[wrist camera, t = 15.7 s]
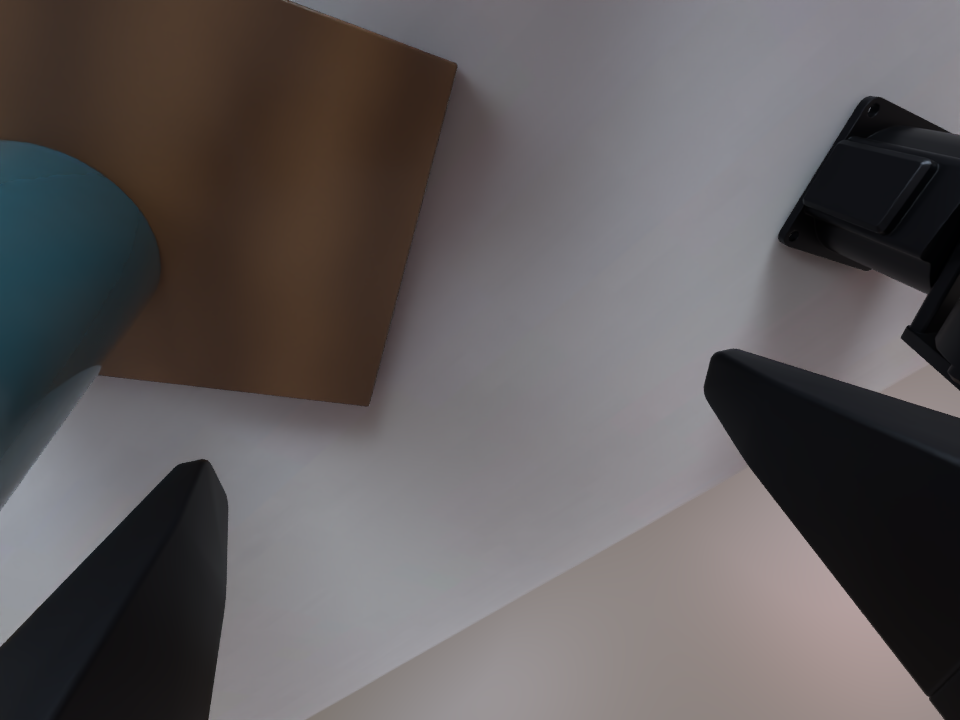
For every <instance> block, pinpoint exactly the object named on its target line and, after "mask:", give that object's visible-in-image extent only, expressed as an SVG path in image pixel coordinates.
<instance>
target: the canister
mask: <svg viewBox="0 0 960 720" xmlns="http://www.w3.org/2000/svg"><path fill="white" fill-rule="evenodd" d="M160 273H161V259H160V253H159V248H158V245H157V242H156V239H155V236H154V234H153V232H152V230H151V227H150V225H149V223H148V222H147V220H146V219H145V217H144V216H143V214H142V212H141V211H140V210H139V209H138V207H137V206H136V205H135V204H134V202H133V201H132V200H131V199H130V198H129V197H128V196H127V195H126V194H125V193H124V192H123V191H122V190H121V189H120V188H119V187H118V186H117V185H115V184H114V183H113V182H112V181H111V180H109V179H108V178H107V177H105V176H104V175H103V174H101V173H100V172H98V171H97V170H95V169H94V168H92V167H90V166H88V165H87V164H85V163H83V162H81V161H79V160H78V159H75V158H73V157H71V156H69V155H66V154H64V153H62V152H59V151H56V150H53V149H50V148H47V147H44V146H40V145H35V144H31V143H26V142H18V141H9V140H0V511H1V509H2V508H3V507H4V505H5V504H6V502H7V501H8V500H9V498H10V497H11V495H12V494H13V493H14V491H15V490H16V488H17V487H18V486H19V484H20V483H21V481H22V480H23V479H24V477H25V476H26V474H27V473H28V472H29V470H30V469H31V467H32V466H33V465H34V463H35V462H36V460H37V459H38V458H39V456H40V455H41V453H42V452H43V451H44V449H45V448H46V446H47V445H48V444H49V442H50V441H51V439H52V438H53V437H54V435H55V434H56V432H57V431H58V430H59V428H60V427H61V425H62V424H63V423H64V421H65V420H66V418H67V417H68V416H69V414H70V413H71V411H72V410H73V409H74V407H75V406H76V404H77V403H78V402H79V400H80V399H81V397H82V396H83V395H84V393H85V392H86V390H87V389H88V388H89V386H90V385H91V383H92V382H93V381H94V379H95V378H96V376H97V375H98V374H99V372H100V371H101V370H102V368H103V367H104V365H105V364H106V363H107V361H108V360H109V358H110V357H111V356H112V354H113V353H114V351H115V350H116V349H117V347H118V346H119V344H120V343H121V342H122V340H123V339H124V337H125V336H126V335H127V333H128V332H129V330H130V329H131V328H132V326H133V325H134V323H135V322H136V321H137V319H138V318H139V316H140V315H141V314H142V312H143V311H144V309H145V308H146V307H147V305H148V304H149V302H150V301H151V299H152V298H153V296H154V294H155V292H156V290H157V287H158V284H159V280H160Z"/></svg>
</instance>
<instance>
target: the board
mask: <svg viewBox="0 0 960 720" xmlns="http://www.w3.org/2000/svg"><path fill="white" fill-rule="evenodd" d="M456 71H457V64H456V63H454V62H451V61H449V60H446V59H443V58H441V57H438V56H435V55H433V54H430V53H427V52H425V51H422V50H419V49H417V48H414V47H411V46H409V45H406V44H404V43H401V42H398V41H396V40H393V39H390V38H388V37H385V36H382V35H380V34H377V33H374V32H372V31H369V30H366V29H364V28H361V27H358V26H356V25H353V24H350V23H348V22H345V21H342V20H340V19H337V18H334V17H332V16H329V15H326V14H324V13H321V12H318V11H316V10H313V9H310V8H308V7H305V6H302V5H300V4H297V3H294V2H292V1H289V0H0V140H9V141H18V142H26V143H31V144H35V145H40V146H44V147H47V148H50V149H53V150H56V151H59V152H62V153H64V154H66V155H69V156H71V157H73V158H75V159H78V160H79V161H81V162H83V163H85V164H87V165H88V166H90V167H92V168H94V169H95V170H97V171H98V172H100V173H101V174H103V175H104V176H105V177H107V178H108V179H109V180H111V181H112V182H113V183H114V184H115V185H117V186H118V187H119V188H120V189H121V190H122V191H123V192H124V193H125V194H126V195H127V196H128V197H129V198H130V199H131V200H132V201H133V202H134V204H135V205H136V206H137V207H138V209H139V210H140V211H141V212H142V214H143V216H144V217H145V219H146V220H147V222H148V223H149V225H150V227H151V230H152V232H153V234H154V236H155V239H156V242H157V245H158V248H159V253H160V259H161V273H160V280H159V284H158V287H157V290H156V292H155V294H154V296H153V298H152V299H151V301H150V302H149V304H148V305H147V307H146V308H145V309H144V311H143V312H142V314H141V315H140V316H139V318H138V319H137V321H136V322H135V323H134V325H133V326H132V328H131V329H130V330H129V332H128V333H127V335H126V336H125V337H124V339H123V340H122V342H121V343H120V344H119V346H118V347H117V349H116V350H115V351H114V353H113V354H112V356H111V357H110V358H109V360H108V361H107V363H106V364H105V365H104V367H103V368H102V370H101V371H100V372H99V374H98V375H102V376H111V377H119V378H128V379H136V380H145V381H154V382H162V383H171V384H179V385H188V386H196V387H205V388H214V389H222V390H231V391H239V392H248V393H256V394H265V395H273V396H282V397H291V398H299V399H308V400H316V401H325V402H333V403H342V404H350V405H359V406H369V404H370V401H371V397H372V393H373V389H374V385H375V381H376V378H377V374H378V370H379V366H380V362H381V358H382V355H383V351H384V347H385V343H386V339H387V335H388V332H389V328H390V324H391V320H392V316H393V312H394V309H395V305H396V301H397V297H398V293H399V289H400V286H401V282H402V278H403V274H404V270H405V266H406V263H407V259H408V255H409V251H410V247H411V243H412V240H413V236H414V232H415V228H416V224H417V220H418V217H419V213H420V209H421V205H422V201H423V197H424V194H425V190H426V186H427V182H428V178H429V174H430V170H431V167H432V163H433V159H434V155H435V151H436V147H437V144H438V140H439V136H440V132H441V128H442V124H443V121H444V117H445V113H446V109H447V105H448V101H449V98H450V94H451V90H452V86H453V82H454V78H455V75H456Z"/></svg>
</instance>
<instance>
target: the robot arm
mask: <svg viewBox="0 0 960 720" xmlns="http://www.w3.org/2000/svg"><path fill="white" fill-rule="evenodd" d="M870 107H871V109H870V111H869V108H870ZM868 111H869V112H868ZM792 232H793V233H792ZM791 233H792V235H791V236H790V234H791ZM789 236H790V237H789ZM778 239H779V241H780V242H781V243H783V244H785V245H787V246H789V247H793V248H796V249H799V250H802V251H805V252H808V253H811V254H814V255H818V256H821V257H824V258H827V259H830V260H833V261H836V262H839V263H843V264H846V265H849V266H852V267H855V268H858V269H861V270H865V271H869V270H871V269H873V270H875V271H878V272H880V273H882V274H884V275H886V276H889V277H891V278H893V279H895V280H897V281H899V282H902V283H904V284H906V285H908V286H910V287H913V288H915V289H917V290H919V291H921V292H924V293H926V294H928V295H927V297H926V299H925V300H924V302H923V304H922V306H921V308H920V309H919V311H918V313H917V315H916V316H915V318H914V320H913V322H912V323H911V325H908V326H907V327H906V329H905V331H904V332H903V334H902V336H901V339H902V340H903V341H904V342H906V343H907V344H908V345H909V346H910V347H911V348H912V349H914V350H915V351H916V352H917V353H918V354H919V355H920V356H921V357H922V358H924V359H925V360H926V361H927V362H928V363H929V364H930V365H932V366H933V367H934V368H935V369H936V370H937V371H939V373H941V374H942V375H943V376H944V377H945V378H946V379H947V380H948V381H950V382H951V383H952V384H953V385H954V386H955V387H956V388H957V389H959V390H960V135H957V134H952V133H950V132H948V131H946V130H944V129H942V128H940V127H938V126H936V125H934V124H932V123H930V122H929V121H927V120H925V119H923V118H921V117H919V116H917V115H915V114H913V113H911V112H909V111H907V110H905V109H903V108H901V107H899V106H897V105H895V104H893V103H891V102H889V101H887V100H885V99H883V98H881V97H873V96H868V97H866V98H864V99H863V100H862V101H861V102H860V103H859V104H858V105H857V107H856V109H855V110H854V112H853V114H852V115H851V117H850V118H849V120H848V122H847V123H846V125H845V126H844V128H843V130H842V131H841V133H840V135H839V136H838V138H837V139H836V141H835V143H834V144H833V146H832V148H831V149H830V151H829V152H828V154H827V156H826V157H825V159H824V161H823V162H822V164H821V165H820V167H819V169H818V170H817V172H816V174H815V175H814V177H813V178H812V180H811V182H810V183H809V185H808V186H807V188H806V190H805V191H804V193H803V195H802V196H801V198H800V199H799V201H798V203H797V204H796V206H795V208H794V209H793V211H792V212H791V214H790V216H789V217H788V219H787V221H786V222H785V224H784V225H783V227H782V229H781V230H780V232H779V235H778ZM704 395H705V397H706V400H707V401H708V403H709V404H710V406H711V408H712V409H713V411H714V412H715V414H716V416H717V417H718V419H719V420H720V422H721V424H722V425H723V427H724V428H725V430H726V432H727V433H728V435H729V436H730V438H731V440H732V441H733V443H734V444H735V446H736V448H737V449H738V451H739V452H740V454H741V455H742V457H743V458H744V460H745V461H746V463H747V464H748V466H749V467H750V468H751V470H752V471H753V472H754V474H755V475H756V476H757V478H758V479H759V480H760V481H761V483H762V484H763V485H764V487H765V488H766V489H767V491H768V492H769V493H770V494H771V496H772V497H773V498H774V500H775V501H776V502H777V503H778V505H779V506H780V507H781V509H782V510H783V511H784V512H785V514H786V515H787V516H788V517H789V519H790V520H791V521H792V523H793V524H794V525H795V527H796V528H797V529H798V530H799V532H800V533H801V534H802V536H803V537H804V538H805V540H806V541H807V542H808V543H809V545H810V546H811V547H812V549H813V550H814V551H815V552H816V554H817V555H818V556H819V558H820V559H821V560H822V561H823V563H824V564H825V565H826V566H827V568H828V569H829V570H830V572H831V573H832V574H833V576H834V577H835V578H836V580H837V581H838V582H839V583H840V585H841V586H842V587H843V588H844V590H845V591H846V592H847V594H848V595H849V596H850V598H851V599H852V600H853V601H854V603H855V604H856V605H857V606H858V608H859V609H860V610H861V612H862V613H863V614H864V615H865V617H866V618H867V620H868V621H869V622H870V623H871V625H872V626H873V627H874V628H875V630H876V631H877V632H878V634H879V635H880V636H881V638H882V639H883V640H884V641H885V643H886V644H887V645H888V646H889V648H890V649H891V650H892V652H893V653H894V654H895V656H896V657H897V658H898V659H899V661H900V662H901V663H902V665H903V666H904V667H905V669H906V670H907V671H908V672H909V674H910V675H911V676H912V678H913V679H914V680H915V681H916V683H917V684H918V685H919V686H920V688H921V689H922V690H923V692H924V693H925V694H926V695H927V696H928V697H929V700H930V701H931V703H932V704H933V705H934V707H935V708H936V709H937V710H938V712H939V713H940V714H941V716H942V717H943V718H944V719H945V720H960V418H958V417H954V416H951V415H948V414H945V413H942V412H938V411H935V410H932V409H929V408H926V407H922V406H919V405H916V404H913V403H909V402H906V401H903V400H900V399H897V398H893V397H890V396H887V395H884V394H881V393H877V392H874V391H871V390H868V389H865V388H861V387H858V386H855V385H852V384H849V383H845V382H842V381H839V380H836V379H833V378H829V377H826V376H823V375H820V374H817V373H813V372H810V371H807V370H804V369H801V368H797V367H794V366H791V365H788V364H784V363H781V362H778V361H775V360H772V359H768V358H765V357H762V356H759V355H756V354H752V353H749V352H746V351H743V350H740V349H728V350H723V351H719V352H716V353H714V355H713V356H712V357H711V360H710V364H709V368H708V372H707V375H706V379H705V383H704ZM227 543H228V501H227V496H226V493H225V491H224V489H223V487H222V485H221V483H220V481H219V479H218V477H217V475H216V473H215V471H214V469H213V467H212V465H211V463H210V462H209V461H208V460H205V459H200V460H195V461H191V462H186V463H182V464H179V465H177V466H176V467H175V468H173V470H172V471H171V472H170V473H169V474H168V475H167V476H166V477H165V478H164V479H163V480H162V481H161V482H160V483H159V484H158V485H157V486H156V487H155V488H154V489H153V490H152V491H151V492H150V493H149V494H148V495H147V496H146V497H145V498H144V499H143V500H142V501H141V503H140V504H139V505H138V506H137V507H136V508H135V509H134V510H133V511H132V512H131V513H130V514H129V515H128V516H127V517H126V518H125V519H124V520H123V521H122V522H121V523H120V524H119V525H118V526H117V527H116V528H115V529H114V530H113V531H112V532H111V533H110V534H109V536H108V537H107V538H106V539H105V540H104V541H103V542H102V543H101V544H100V545H99V546H98V547H97V548H96V549H95V550H94V551H93V552H92V553H91V554H90V555H89V556H88V557H87V558H86V559H85V560H84V561H83V562H82V563H81V564H80V565H79V566H78V568H77V569H76V570H75V571H74V572H73V573H72V574H71V575H70V576H69V577H68V578H67V579H66V580H65V581H64V582H63V583H62V584H61V585H60V586H59V587H58V588H57V589H56V590H55V591H54V592H53V593H52V594H51V595H50V596H49V597H48V598H47V599H46V601H45V602H44V603H43V604H42V605H41V606H40V607H39V608H38V609H37V610H36V611H35V612H34V613H33V614H32V615H31V616H30V617H29V618H28V619H27V620H26V621H25V622H24V623H23V624H22V625H21V626H20V627H19V628H18V629H17V630H16V631H15V632H14V634H13V635H12V636H11V637H10V638H9V639H8V640H7V641H6V642H5V643H4V644H3V645H2V646H1V647H0V720H208V718H209V712H210V705H211V698H212V691H213V684H214V678H215V671H216V664H217V657H218V651H219V644H220V637H221V630H222V624H223V617H224V609H225V600H226V584H227Z"/></svg>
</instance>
